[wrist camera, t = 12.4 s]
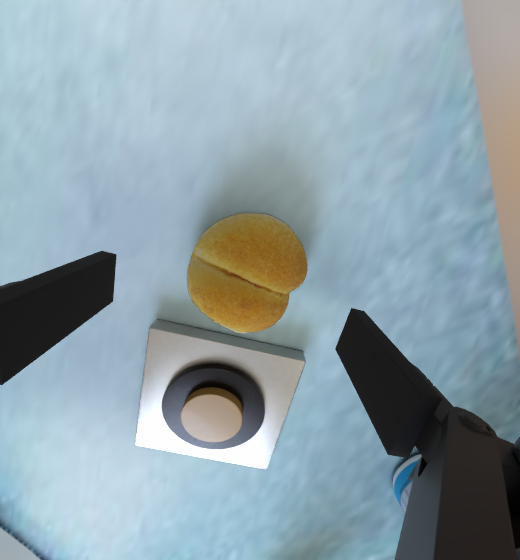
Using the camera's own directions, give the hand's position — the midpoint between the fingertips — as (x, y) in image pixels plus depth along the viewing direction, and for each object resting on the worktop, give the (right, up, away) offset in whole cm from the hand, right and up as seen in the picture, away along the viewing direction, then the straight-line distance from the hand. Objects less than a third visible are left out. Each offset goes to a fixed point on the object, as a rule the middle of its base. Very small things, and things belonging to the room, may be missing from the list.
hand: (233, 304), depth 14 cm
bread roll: (+1, +2, +6) cm, 7 cm away
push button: (-3, -9, +10) cm, 14 cm away
